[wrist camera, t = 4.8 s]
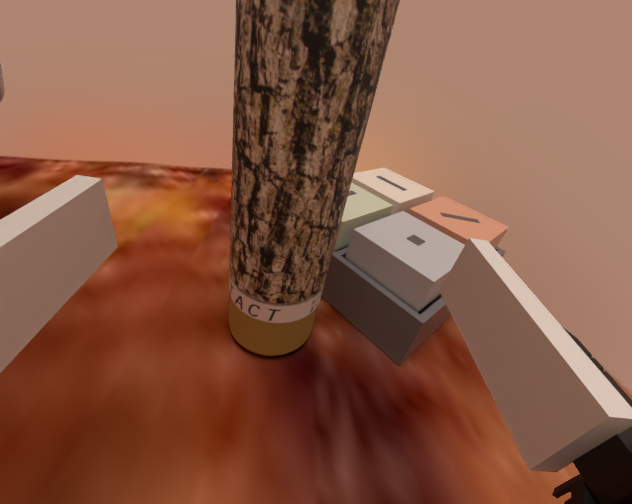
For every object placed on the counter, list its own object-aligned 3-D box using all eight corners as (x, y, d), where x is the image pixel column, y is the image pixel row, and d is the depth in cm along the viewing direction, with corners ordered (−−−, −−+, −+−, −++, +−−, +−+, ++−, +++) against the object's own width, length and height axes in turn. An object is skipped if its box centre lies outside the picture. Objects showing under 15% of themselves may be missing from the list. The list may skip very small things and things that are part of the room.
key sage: (283, 212, 31) (287, 184, 29) (333, 199, 36) (339, 175, 34) (335, 250, 27) (343, 221, 25) (383, 230, 32) (393, 204, 30)
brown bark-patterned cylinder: (279, 286, 29) (338, -92, 15) (327, 334, 25) (467, -108, 11) (212, 315, 25) (203, -178, 10) (258, 377, 21) (340, -250, 7)
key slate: (344, 258, 26) (353, 228, 25) (393, 236, 31) (403, 210, 29) (417, 312, 22) (434, 281, 21) (460, 278, 27) (476, 250, 25)
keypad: (267, 248, 33) (271, 208, 31) (366, 215, 45) (376, 183, 42) (399, 365, 24) (423, 323, 21) (482, 285, 35) (505, 251, 32)
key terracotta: (399, 233, 32) (409, 208, 30) (433, 218, 36) (443, 195, 35) (465, 273, 28) (481, 246, 26) (493, 250, 33) (509, 226, 31)
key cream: (340, 198, 36) (346, 174, 35) (377, 188, 41) (384, 167, 39) (390, 228, 32) (400, 202, 31) (424, 213, 37) (434, 191, 35)
